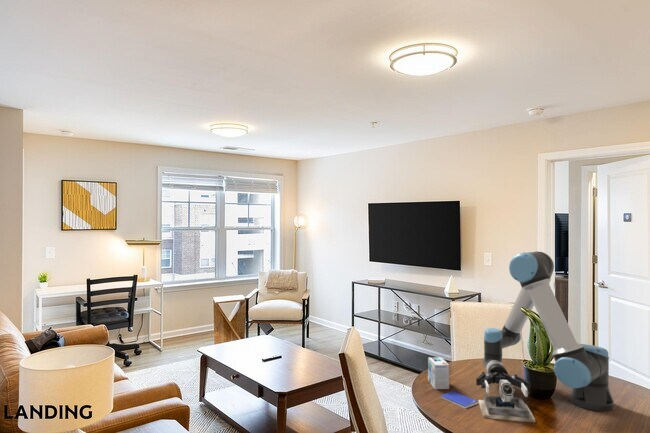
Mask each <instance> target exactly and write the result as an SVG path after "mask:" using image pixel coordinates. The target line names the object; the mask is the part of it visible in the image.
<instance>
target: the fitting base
mask: <svg viewBox="0 0 650 433" xmlns="http://www.w3.org/2000/svg"><path fill="white" fill-rule="evenodd" d="M496 399H501V397H500V395H490V394H484V395H483V399H478V400H477V401H478V402H479V404H478V405H479V408H480V411H481V414H482V417H483V418H484V419H495V420H504V421H516V422H526V423H536V418H535V417H534V415H533V412H532V411H531V410H530V408H529V406H528V405H527V403H525V402H524V399H522V397H515V396H513V397H512V398H511V400H512V401H513V403H514V408H506V407H496Z"/></svg>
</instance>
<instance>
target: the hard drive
mask: <svg viewBox="0 0 650 433" xmlns="http://www.w3.org/2000/svg"><path fill="white" fill-rule="evenodd" d="M440 398H441V399H443V400H446V401H447V402H450V403H452V404H454V405H456V406H459V407H461V408H463V409H468V408H470V407H471V408H472V407H473V406H476V405H479V402H478V400H476V399H473V398H471V397H469V396H466V395H464V394H462V393H459V392H456V391H450V392H447V393H444V394H441V395H440Z"/></svg>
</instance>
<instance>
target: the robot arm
mask: <svg viewBox="0 0 650 433" xmlns="http://www.w3.org/2000/svg"><path fill="white" fill-rule="evenodd" d="M554 263H555V262H554V261H553V259H552V257H551V255H549V254H547V253H545V252H543V251H532V252H531V251H530V252H527V251H526V252H521V253H519V254H515V256H513V257H512V258H511V260H510V262H509V265H508V270H509V274H510V276H511V277H512V278H513V280H515V281H516V282H518V283H519V285H520V286H521V289H520V291H519V292H518V294H517V297H516V298H515V301H514V303H513V305H512V307H511V309H510V312H509V313H508V316H507V318H506V320H505V323H504V325H503V327H502V328H501V329H499V328H495V327H490V328H489V327H488V328H486V329H485V330H484V333H483V334H484V336H483V344H484V345H483V349H484V354H483V355H484V356H483V358H482V364H483V367H484V368H485V370H486V372H485V371H482V372H481V374H480V375H478V376H477V377H476V379H475V383H476V386H481V387H480V389H485V391H486V395H490V386H489V385H491V384H493V385H494V384H498V385H499V382H500V380H508V381H509V382H510V383H511V385H512V386H513V387H516V388H519V389H520V390H521V392H522V393H523V395H524V397H526V398H528V393H529V390H531V385H532V383H531V382H529V381H528V380H526V379H525V378H522V377H520V376H519V375H517V374H513V375H510V374H509V373H508V371H507V369H506V367H505V366H504V364H503V349H505V348H509V347H511V346H515V345H517V344H518V343H519V342H520V341H521V339H522V337H521V336H522V335H521V332H522V330H523V328H524V327H525V324H526V322H527V320H528V318H529V316H528V317H527V316H526V315H525V314H524V313H523V312H522V311H521V308H522V307H523V308H525V309H528V310H531V311H532V310H533V308H534V307H535V310H536V312H537V314H538V316H539V320H540V321H541V323H542V325H543V327H544V329H545V332H546V334H547V336H548V338H549V341H550V343H551V345H552V347H553V352H552V357H553V359H554V361H555V362H554V366H553V371H554V374H555V376H556V379H558V381H559V382H560V383H561V384H563V385H565V386H567V388H568V387H569V388H571V389H570V392H569V401H570V402H571V403H572V404H574V405H576V406H578V407H580V408H583V409H586V410H590V411H595V412H596V411H597V412H609V410H610V411H613V410H614V409H615V401H614V399H613V395H612V393H611V390H610V389H611V388H610V386H609V385H610V384H609V382H610V381H609V378H610V377H609V373H610V372H609V371H610V368H609V367H610V365H609V361H610V360H609V359H610V356H609V351H608V350H607V349H606V348H603V347H601V346H598V345H591V344H586V343H585V344H584V343H579V342H577V340H576V338H575V336H574V334H573V331H572V330H571V327H570V326H569V324H568V321H567V320H566V316H565V314H564V313H563V311H562V308H561V307H560V304H559V302H558V299H557V298H556V296H555V294H554V291H553V289H552V288H551V286H550V282H551V280H552V275H553V274H554V269H555V265H554ZM613 408H614V409H613ZM612 409H613V410H612Z"/></svg>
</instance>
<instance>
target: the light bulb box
mask: <svg viewBox="0 0 650 433" xmlns="http://www.w3.org/2000/svg"><path fill="white" fill-rule="evenodd" d="M427 367H428V368H427V382H429V384H430V385H431V387H432V388H433V389H434V390H449V389H450V364H449V363H448V362H447V361H446V359H444V358H443V357H441V356H438V357H435V356H434V357H427Z"/></svg>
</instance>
